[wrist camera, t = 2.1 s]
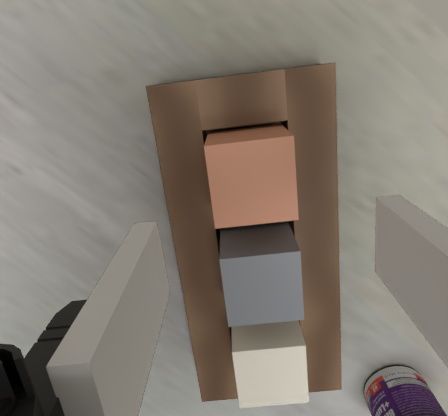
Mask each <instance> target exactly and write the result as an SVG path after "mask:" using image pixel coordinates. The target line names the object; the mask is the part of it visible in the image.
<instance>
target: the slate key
mask: <svg viewBox="0 0 448 416" xmlns="http://www.w3.org/2000/svg"><path fill="white" fill-rule="evenodd" d="M219 261H220V268H221V276H222V283H223V290H224V298H225V305H226V312H227V320H228V327H234V326H244V325H255V324H265V323H276V322H286V321H297V320H304V305H303V287H302V269H301V252H300V249H299V246H298V244H297V242H296V239H295V237H294V235H293V232H292V230H291V227H290V225H289V223H288V221H284V222H275V223H265V224H256V225H247V226H237V227H228V228H221V229H220V255H219Z"/></svg>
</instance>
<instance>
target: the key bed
mask: <svg viewBox="0 0 448 416" xmlns="http://www.w3.org/2000/svg"><path fill="white" fill-rule="evenodd" d="M146 89H147V95H148V101H149V106H150V112H151V117H152V123H153V129H154V134H155V140H156V146H157V151H158V157H159V162H160V168H161V174H162V179H163V185H164V190H165V196H166V202H167V207H168V213H169V218H170V224H171V230H172V235H173V241H174V247H175V252H176V258H177V263H178V269H179V275H180V280H181V286H182V291H183V297H184V303H185V308H186V314H187V320H188V325H189V331H190V336H191V342H192V348H193V353H194V359H195V364H196V370H197V376H198V381H199V387H200V392H201V398H202V402H203V401H214V400H226V399H238V393H237V385H236V378H235V371H234V363H233V356H232V328H231V327H228V320H227V312H226V305H225V298H224V290H223V283H222V276H221V268H220V261H219V255H220V229H221V228H219V229H215V224H214V217H213V210H212V202H211V195H210V188H209V180H208V173H207V166H206V158H205V151H204V144H205V141H206V138H207V135H208V132H214V131H223V130H231V129H239V128H248V127H256V126H265V125H273V124H282V125H283V126H284V127H285V128H286V129H287V130H288V131H289V132H290V133H292V134H293V135H294V145H295V163H296V181H297V199H298V216H299V220H293V221H288V223H289V225H290V227H291V230H292V232H293V235H294V237H295V239H296V242H297V244H298V246H299V249H300V252H301V269H302V287H303V305H304V320H298V321H299V324H300V327H301V331H302V334H303V338H304V341H305V345H306V358H307V376H308V392H318V391H330V390H341V389H342V385H341V332H340V280H339V227H338V175H337V122H336V70H335V63H328V64H319V65H311V66H303V67H295V68H287V69H279V70H271V71H263V72H255V73H247V74H240V75H232V76H224V77H216V78H208V79H200V80H192V81H184V82H176V83H168V84H160V85H152V86H146Z"/></svg>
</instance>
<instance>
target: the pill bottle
mask: <svg viewBox="0 0 448 416" xmlns="http://www.w3.org/2000/svg"><path fill="white" fill-rule="evenodd" d="M364 396H365V400H366V402H367V405H368V408H369V410H370V412H371V415H372V416H447V415H446V414H445V412H444V410H443V409H442V407H441V406H440V404H439V403H438V401H437V399H436V398H435V396H434V395H433V393H432V392H431V390H430V388H429V387H428V385H427V384H426V382H425V381H424V379H423V378H422V377H421V375H420V374H419V373H417V372H416V371H415V370H413V369H411V368H408V367H404V366H392V367H388V368H385V369H382V370H380V371H378V372H377V373H375V374H374V375H373V376H371V377H370V379H369V380H368V381H367V383H366V386H365V390H364Z"/></svg>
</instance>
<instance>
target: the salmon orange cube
mask: <svg viewBox="0 0 448 416" xmlns="http://www.w3.org/2000/svg"><path fill="white" fill-rule="evenodd" d="M204 151H205V158H206V166H207V173H208V180H209V188H210V195H211V202H212V210H213V217H214V224H215V229H219V228H228V227H237V226H247V225H256V224H265V223H275V222H284V221H293V220H299V216H298V199H297V181H296V163H295V145H294V135H293V134H292V133H290V132H289V131H288V130H287V129H286V128H285V127H284V126H283V125H282V124H273V125H265V126H256V127H248V128H239V129H231V130H223V131H214V132H208V135H207V138H206V141H205V144H204Z"/></svg>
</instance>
